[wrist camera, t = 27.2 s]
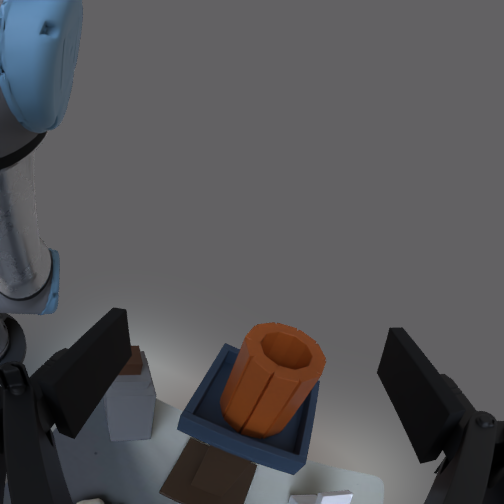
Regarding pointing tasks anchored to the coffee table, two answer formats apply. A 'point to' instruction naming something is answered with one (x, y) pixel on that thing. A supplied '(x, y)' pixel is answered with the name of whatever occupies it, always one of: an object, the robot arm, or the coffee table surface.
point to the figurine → (323, 498)
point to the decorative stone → (91, 501)
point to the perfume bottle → (131, 400)
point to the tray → (231, 444)
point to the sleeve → (270, 379)
